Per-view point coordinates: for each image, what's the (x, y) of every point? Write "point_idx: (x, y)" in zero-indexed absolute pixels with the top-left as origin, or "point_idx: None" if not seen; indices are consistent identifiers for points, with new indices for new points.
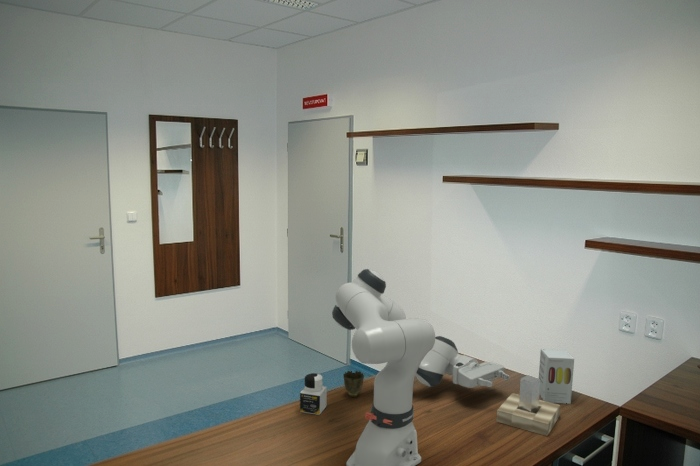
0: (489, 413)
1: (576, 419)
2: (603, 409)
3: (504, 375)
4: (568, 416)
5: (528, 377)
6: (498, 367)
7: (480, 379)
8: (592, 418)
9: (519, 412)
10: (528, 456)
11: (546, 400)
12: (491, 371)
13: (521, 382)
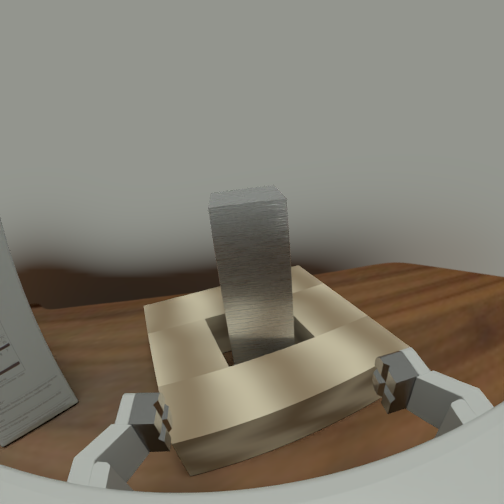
0: (387, 448)
1: (139, 317)
2: (47, 315)
3: (155, 411)
4: (135, 331)
5: (237, 199)
6: (45, 493)
7: (480, 393)
8: (109, 307)
9: (328, 316)
10: (404, 269)
11: (72, 391)
12: (231, 493)
13: (286, 218)
